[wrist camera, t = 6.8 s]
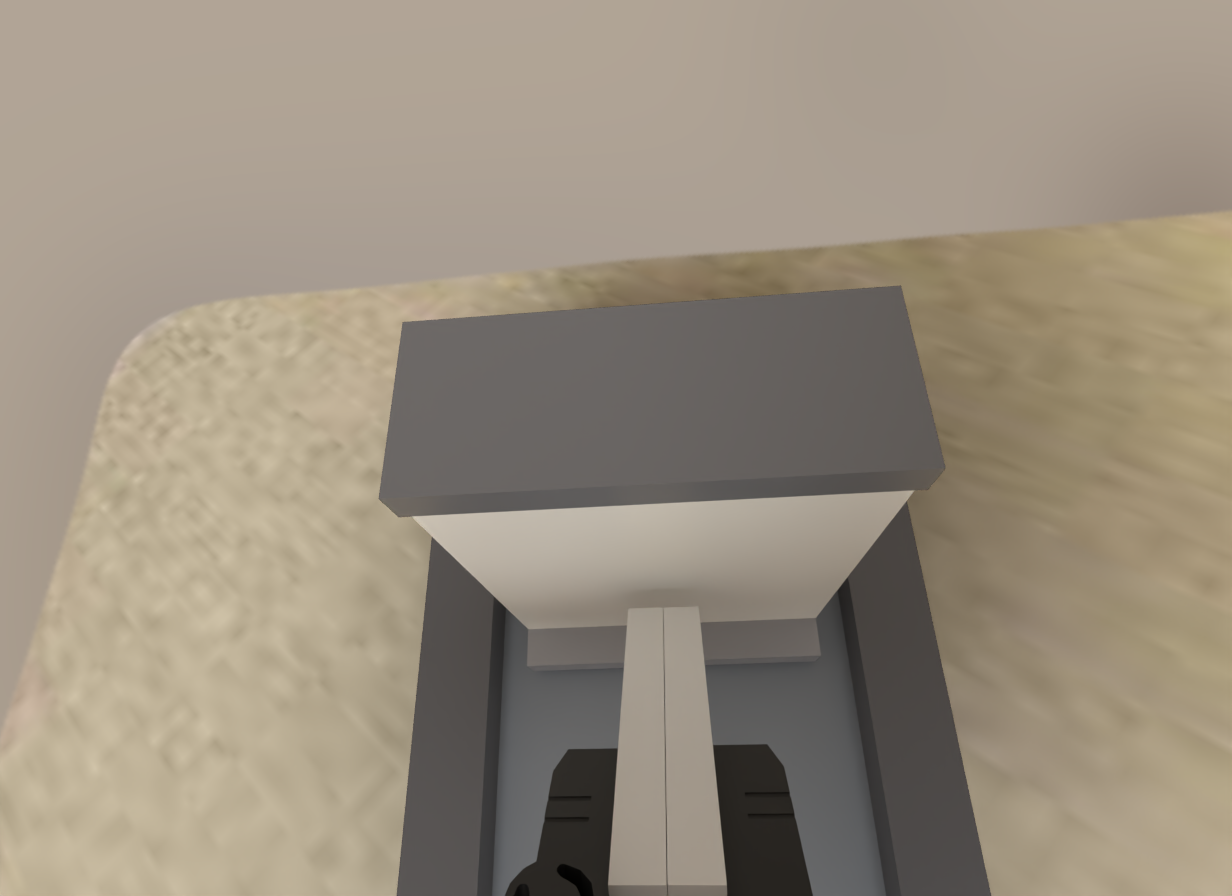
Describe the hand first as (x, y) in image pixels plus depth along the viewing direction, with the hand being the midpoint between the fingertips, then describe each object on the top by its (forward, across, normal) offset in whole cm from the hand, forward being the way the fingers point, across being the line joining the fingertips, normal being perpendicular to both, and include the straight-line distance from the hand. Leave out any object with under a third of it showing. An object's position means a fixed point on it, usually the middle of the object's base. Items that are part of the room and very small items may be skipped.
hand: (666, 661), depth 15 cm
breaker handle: (+6, 0, -1) cm, 6 cm away
